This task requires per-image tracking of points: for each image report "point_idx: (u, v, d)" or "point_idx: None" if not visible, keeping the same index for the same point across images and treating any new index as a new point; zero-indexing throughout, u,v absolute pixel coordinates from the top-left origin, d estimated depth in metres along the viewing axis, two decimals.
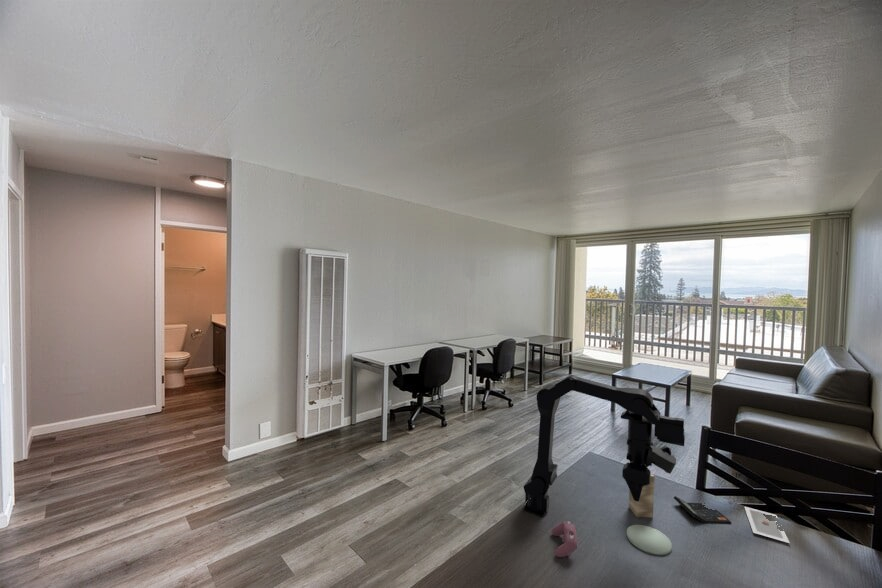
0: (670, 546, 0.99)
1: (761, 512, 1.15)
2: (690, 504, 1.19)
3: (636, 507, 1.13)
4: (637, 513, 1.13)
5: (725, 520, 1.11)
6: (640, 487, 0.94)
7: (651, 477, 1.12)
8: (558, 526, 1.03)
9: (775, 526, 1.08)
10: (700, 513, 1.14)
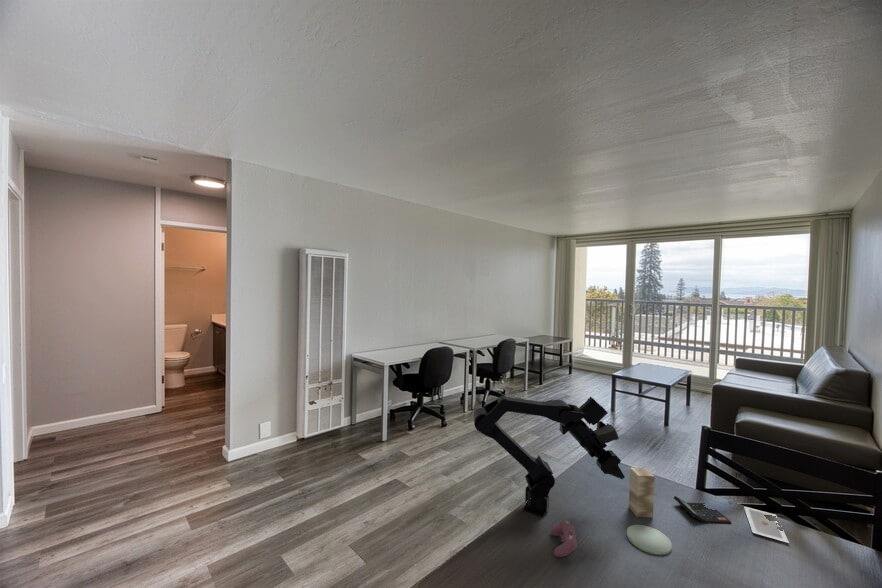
0: (670, 546, 0.99)
1: (760, 512, 1.15)
2: (690, 504, 1.19)
3: (636, 507, 1.13)
4: (637, 513, 1.13)
5: (725, 520, 1.11)
6: (617, 467, 1.09)
7: (651, 477, 1.12)
8: (557, 526, 1.03)
9: (775, 526, 1.09)
10: (700, 513, 1.14)
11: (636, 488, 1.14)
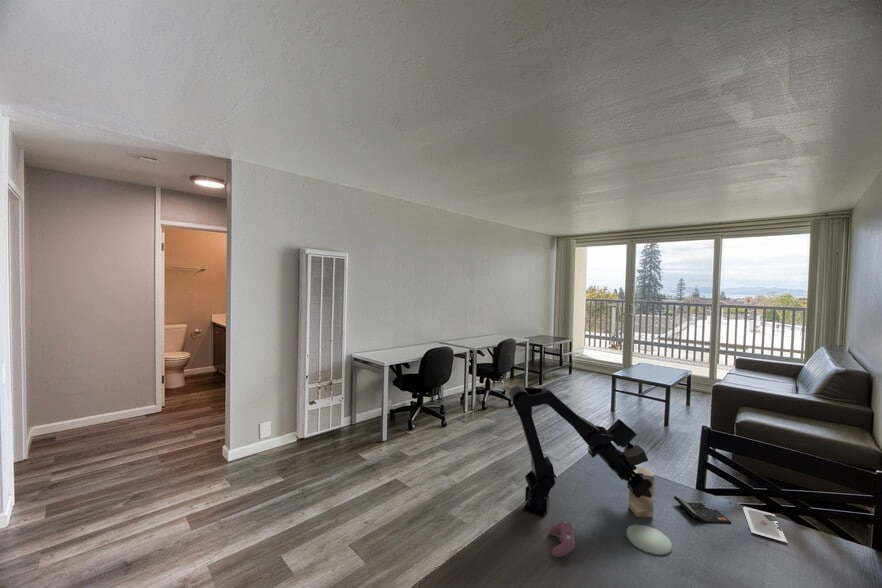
0: (670, 546, 0.99)
1: (759, 512, 1.15)
2: (690, 504, 1.19)
3: (636, 507, 1.13)
4: (637, 513, 1.13)
5: (725, 520, 1.11)
6: None
7: (651, 477, 1.12)
8: (555, 526, 1.03)
9: (773, 525, 1.09)
10: (700, 513, 1.14)
11: None
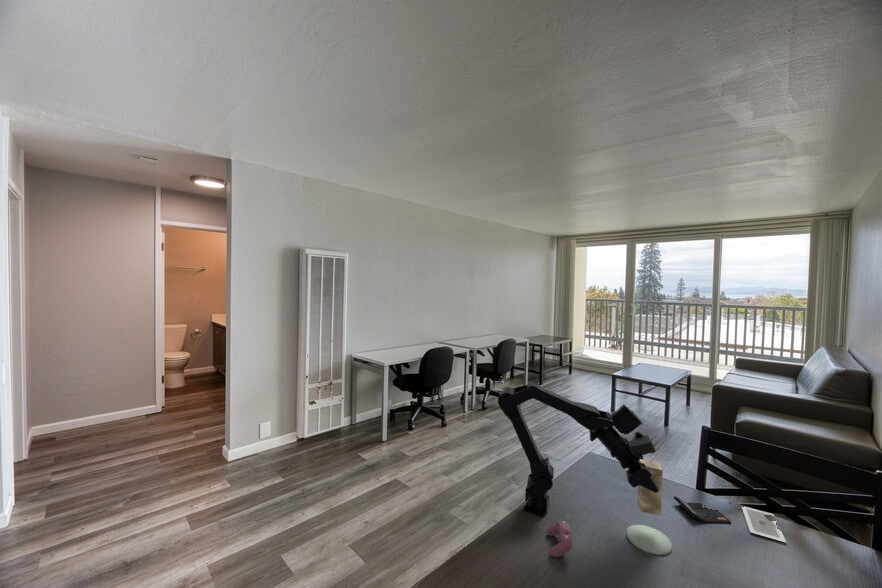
0: (670, 546, 0.99)
1: (758, 511, 1.16)
2: (690, 504, 1.19)
3: (641, 501, 1.05)
4: (641, 507, 1.04)
5: (725, 520, 1.11)
6: (649, 479, 1.02)
7: (658, 470, 1.03)
8: (553, 526, 1.03)
9: (772, 525, 1.09)
10: (700, 513, 1.14)
11: None
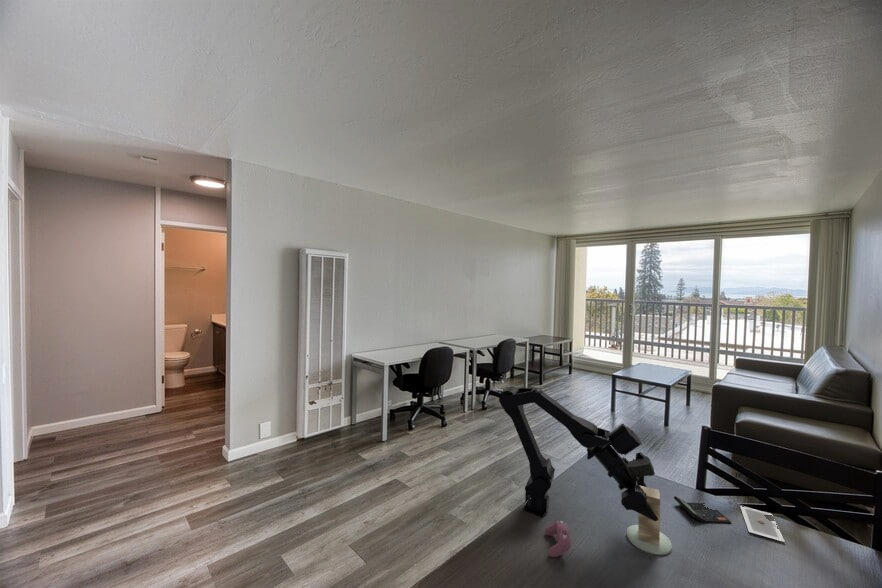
0: (670, 546, 0.99)
1: (757, 511, 1.16)
2: (690, 504, 1.19)
3: (638, 529, 1.02)
4: (639, 536, 1.01)
5: (725, 520, 1.11)
6: (646, 506, 0.97)
7: (656, 499, 0.99)
8: (551, 526, 1.03)
9: (770, 525, 1.09)
10: (700, 513, 1.14)
11: None
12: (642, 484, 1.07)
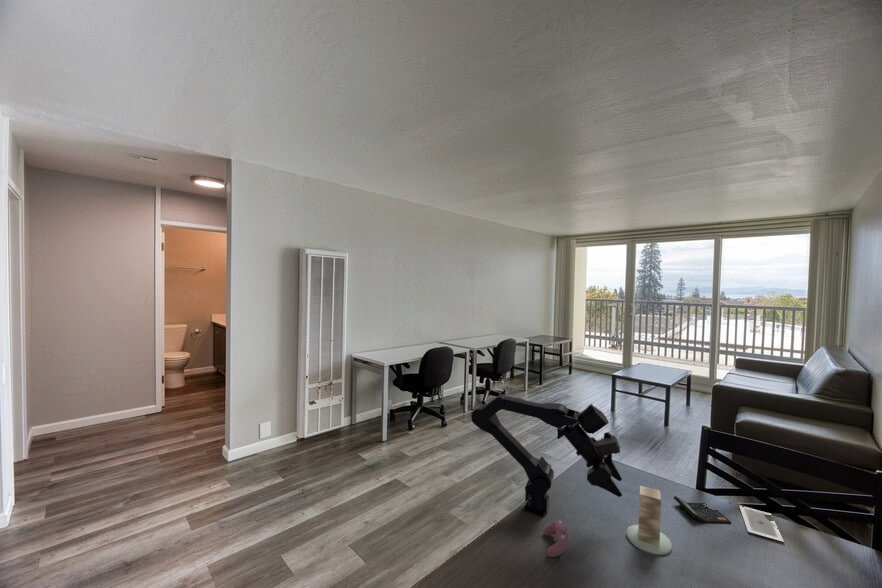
0: (670, 546, 0.99)
1: (756, 511, 1.16)
2: (690, 504, 1.19)
3: (639, 529, 1.02)
4: (639, 536, 1.01)
5: (725, 520, 1.11)
6: (611, 482, 1.01)
7: (657, 500, 0.99)
8: (550, 526, 1.03)
9: (770, 525, 1.09)
10: (700, 513, 1.14)
11: (639, 508, 1.02)
12: (610, 463, 1.11)
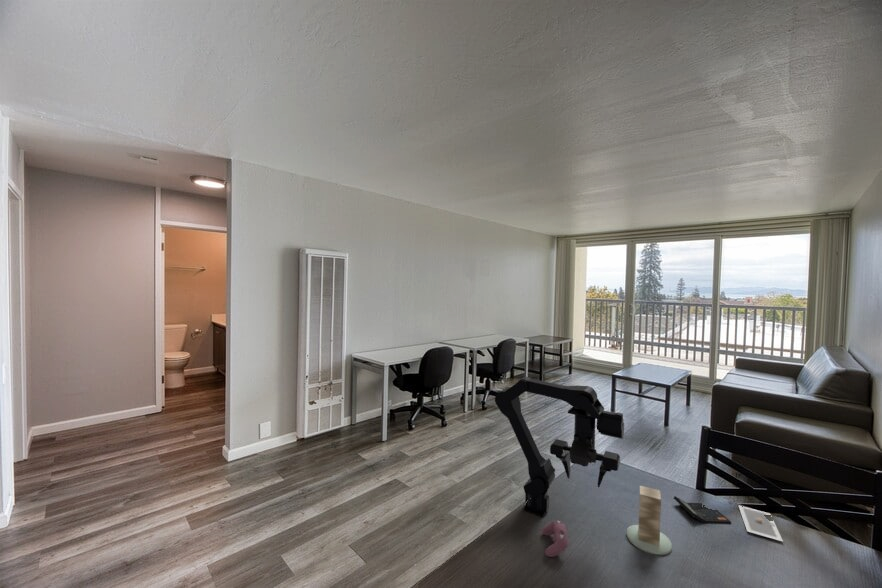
0: (670, 546, 0.99)
1: (755, 511, 1.16)
2: (690, 504, 1.19)
3: (639, 529, 1.02)
4: (639, 536, 1.01)
5: (725, 520, 1.11)
6: None
7: (657, 500, 0.99)
8: (548, 525, 1.03)
9: (769, 524, 1.09)
10: (700, 513, 1.14)
11: (639, 508, 1.02)
12: None
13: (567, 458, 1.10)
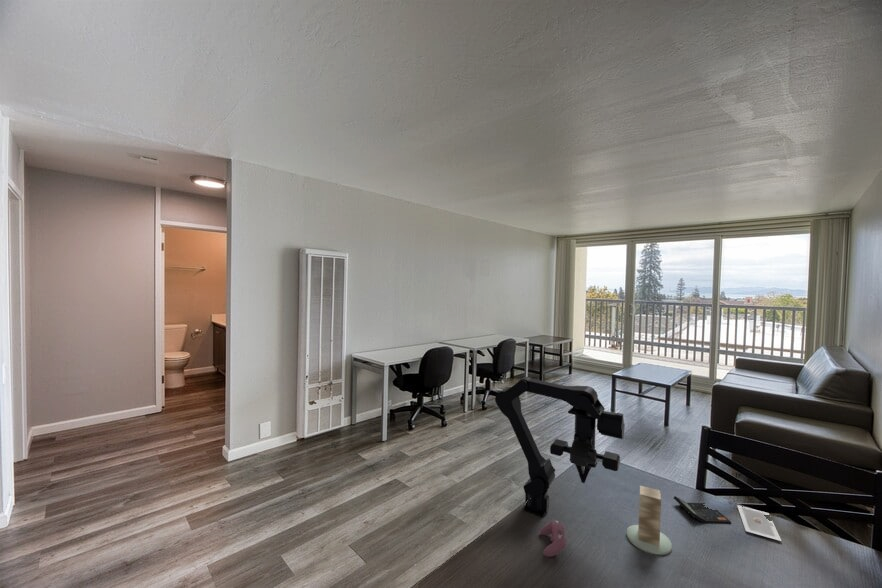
0: (670, 546, 0.99)
1: (753, 510, 1.16)
2: (690, 504, 1.19)
3: (639, 529, 1.02)
4: (639, 536, 1.01)
5: (725, 520, 1.11)
6: None
7: (657, 500, 0.99)
8: (546, 525, 1.03)
9: (767, 524, 1.09)
10: (700, 513, 1.14)
11: (639, 508, 1.02)
12: (585, 466, 1.07)
13: None
